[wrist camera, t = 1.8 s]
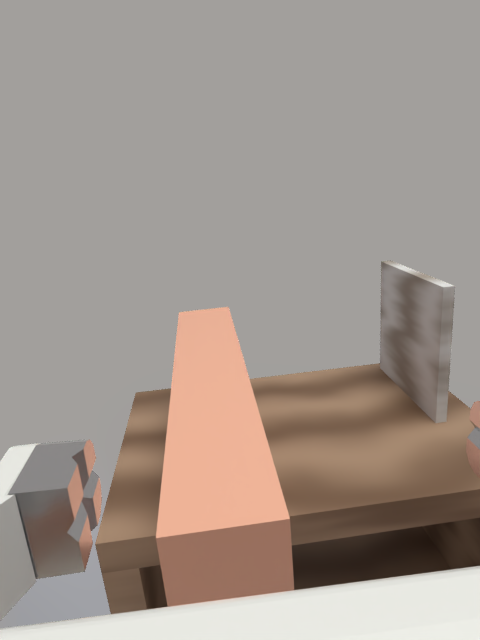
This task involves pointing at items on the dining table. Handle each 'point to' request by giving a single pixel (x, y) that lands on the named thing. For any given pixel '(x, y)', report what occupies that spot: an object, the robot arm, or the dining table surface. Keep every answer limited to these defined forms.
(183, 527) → the salmon pink rectangular block
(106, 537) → the bookshelf
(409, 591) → the robot arm
